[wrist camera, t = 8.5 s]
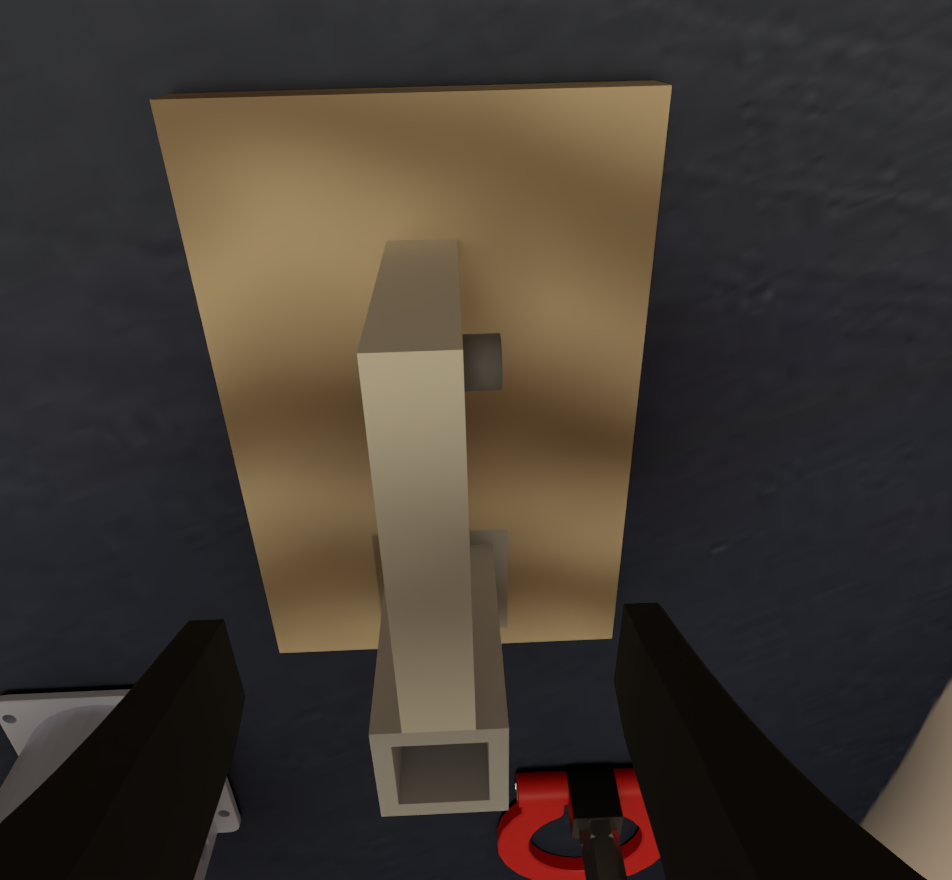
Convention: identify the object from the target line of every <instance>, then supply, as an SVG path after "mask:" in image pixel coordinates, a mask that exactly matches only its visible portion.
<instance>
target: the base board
mask: <svg viewBox="0 0 952 880" xmlns="http://www.w3.org/2000/svg"><path fill="white" fill-rule="evenodd" d="M671 90H672V85H669V84H666V83H663V82H659V81H656V80H650V81H613V82H577V83H540V84H504V85H468V86H431V87H395V88H359V89H322V90H286V91H250V92H213V93H177V94H168V95H165V96H161V97H158V98H154V99H151V100H150V104H151V108H152V112H153V116H154V121H155V125H156V129H157V133H158V138H159V142H160V146H161V150H162V155H163V159H164V163H165V167H166V172H167V176H168V180H169V184H170V189H171V193H172V197H173V201H174V206H175V210H176V214H177V218H178V223H179V227H180V231H181V235H182V240H183V244H184V248H185V252H186V257H187V261H188V265H189V269H190V274H191V278H192V282H193V286H194V291H195V295H196V299H197V303H198V308H199V312H200V316H201V320H202V325H203V329H204V333H205V337H206V342H207V346H208V350H209V354H210V359H211V363H212V367H213V371H214V376H215V380H216V384H217V388H218V393H219V397H220V401H221V405H222V410H223V414H224V418H225V422H226V427H227V431H228V435H229V439H230V444H231V448H232V452H233V456H234V461H235V465H236V469H237V473H238V478H239V482H240V486H241V490H242V495H243V499H244V503H245V507H246V512H247V516H248V520H249V524H250V529H251V533H252V537H253V541H254V546H255V550H256V554H257V558H258V563H259V567H260V571H261V575H262V580H263V584H264V588H265V592H266V597H267V601H268V605H269V609H270V614H271V618H272V622H273V626H274V631H275V635H276V639H277V643H278V648H279V652H280V653H293V652H316V651H339V650H362V649H378V643H379V633H380V624H381V615H382V605H383V596H384V579H383V571H382V562H381V554H380V545H379V537H378V529H377V520H376V512H375V503H374V495H373V486H372V478H371V469H370V461H369V453H368V444H367V436H366V427H365V419H364V410H363V402H362V393H361V385H360V377H359V368H358V360H357V351H358V347H359V343H360V339H361V336H362V332H363V328H364V324H365V320H366V317H367V313H368V309H369V305H370V301H371V298H372V294H373V290H374V286H375V282H376V279H377V275H378V271H379V267H380V263H381V260H382V256H383V252H384V248H385V244H386V241H401V240H432V239H457V246H458V265H459V283H460V302H461V321H462V334H484V333H500V336H501V346H502V373H503V378H502V390H494V391H467V392H465V422H466V451H467V481H468V510H469V540H470V545H478V544H492V545H493V556H494V568H495V579H496V590H497V601H498V612H499V624H500V635H501V643H521V642H544V641H566V640H589V639H612V633H613V623H614V614H615V605H616V596H617V587H618V577H619V568H620V559H621V550H622V541H623V531H624V522H625V513H626V504H627V495H628V485H629V476H630V467H631V458H632V449H633V439H634V430H635V421H636V412H637V403H638V393H639V384H640V375H641V366H642V357H643V347H644V338H645V329H646V320H647V311H648V301H649V292H650V283H651V274H652V265H653V255H654V246H655V237H656V228H657V218H658V209H659V200H660V191H661V182H662V172H663V163H664V154H665V145H666V136H667V126H668V117H669V108H670V99H671Z"/></svg>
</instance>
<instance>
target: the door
mask: <svg viewBox="0 0 952 880" xmlns="http://www.w3.org/2000/svg"><path fill="white" fill-rule="evenodd" d="M357 360H358V368H359V377H360V385H361V393H362V402H363V410H364V419H365V427H366V436H367V444H368V453H369V461H370V469H371V478H372V486H373V495H374V503H375V512H376V520H377V529H378V537H379V545H380V554H381V562H382V571H383V579H384V596H383V605H382V615H381V624H380V633H379V643H378V652H377V661H376V671H375V680H374V689H373V699H372V708H371V718H370V727H369V740H370V747H371V753H372V759H373V766H374V772H375V779H376V785H377V791H378V798H379V804H380V811H381V817H383V816H403V815H424V814H444V813H465V812H485V811H506V810H509V724H508V713H507V702H506V691H505V680H504V668H503V657H502V646H501V635H500V624H499V612H498V601H497V590H496V579H495V568H494V556H493V545H492V544H478V545H470V540H469V510H468V481H467V451H466V422H465V392H467V391H494V390H502V378H503V373H502V346H501V336H500V333H484V334H462V321H461V302H460V283H459V265H458V246H457V239H432V240H401V241H386V244H385V248H384V252H383V256H382V260H381V263H380V267H379V271H378V275H377V279H376V282H375V286H374V290H373V294H372V298H371V301H370V305H369V309H368V313H367V317H366V320H365V324H364V328H363V332H362V336H361V339H360V343H359V347H358V351H357Z"/></svg>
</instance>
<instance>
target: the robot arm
mask: <svg viewBox="0 0 952 880" xmlns="http://www.w3.org/2000/svg"><path fill="white" fill-rule="evenodd" d="M614 683H615V688H616V694H617V700H618V706H619V711H620V717H621V722H622V727H623V732H624V737H625V741H626V744H627V748H628V751H629V754H630V758H631V761H632V765H633V768H634V771H635V775H636V778H637V781H638V785H639V788H640V791H641V795H642V798H643V801H644V805H645V808H646V811H647V815H648V818H649V821H650V825H651V828H652V831H653V834H654V838H655V841H656V844H657V848H658V851H659V854H660V858H661V861H662V865H663V869H664V873H665V876H666V880H927V879H925V878H924V877H922V876H921V875H920V874H919V873H917V872H916V871H914V870H913V869H912V868H911V867H909V866H908V865H907V864H906V863H905V862H903V861H902V860H901V859H900V858H899V857H897V856H896V855H895V854H894V853H892V852H891V851H890V850H889V849H888V848H886V847H885V846H884V845H883V844H881V843H880V842H879V841H878V840H876V839H875V838H874V837H873V836H872V835H871V834H869V833H868V832H867V831H866V830H864V829H863V828H862V827H861V826H860V825H858V824H857V823H856V822H855V821H854V820H852V819H851V818H850V817H849V816H848V815H847V814H846V813H845V812H844V811H842V810H841V809H840V808H839V807H838V806H837V805H836V804H835V803H834V802H832V801H831V800H830V799H829V798H828V797H827V796H826V795H825V794H824V793H822V792H821V791H820V790H819V789H818V788H817V787H816V786H815V785H814V784H813V783H812V782H811V781H810V780H809V779H808V778H807V777H806V776H805V775H804V774H803V773H801V772H800V771H799V770H798V769H797V768H796V767H795V766H794V765H793V764H792V763H791V762H790V761H789V760H788V759H787V758H786V757H785V756H784V755H783V753H782V752H781V751H780V750H779V749H778V748H777V747H776V746H775V745H774V744H773V743H772V742H771V741H770V740H769V739H768V738H767V737H766V736H765V734H764V733H763V732H762V731H761V730H760V729H759V728H758V727H757V726H756V725H755V724H754V723H753V721H752V720H751V719H750V718H749V717H748V716H747V715H746V713H745V712H744V711H743V710H742V709H741V708H740V707H739V706H738V704H737V703H736V702H735V701H734V700H733V698H732V697H731V696H730V695H729V694H728V692H727V691H726V690H725V689H724V688H723V686H722V685H721V684H720V683H719V682H718V680H717V679H716V678H715V677H714V676H713V674H712V673H711V672H710V671H709V669H708V668H707V667H706V666H705V664H704V663H703V662H702V661H701V659H700V658H699V657H698V655H697V654H696V653H695V651H694V650H693V649H692V648H691V646H690V645H689V644H688V642H687V641H686V640H685V638H684V637H683V636H682V634H681V633H680V631H679V630H678V629H677V627H676V626H675V625H674V623H673V622H672V620H671V619H670V618H669V616H668V615H667V613H666V612H665V610H664V609H663V608H662V607H661V606H660V605H659V604H658V603H638V604H624V606H623V614H622V622H621V630H620V638H619V647H618V655H617V663H616V671H615V679H614ZM244 699H245V694H244V690H243V687H242V683H241V680H240V676H239V672H238V669H237V665H236V662H235V658H234V655H233V651H232V647H231V644H230V640H229V637H228V633H227V629H226V626H225V622H224V619H220V620H194V621H189V622H188V623H187V624H186V625H185V626H184V627H183V628H182V629H181V630H180V632H179V633H178V634H177V635H176V636H175V638H174V639H173V640H172V641H171V642H170V643H169V645H168V646H167V647H166V648H165V649H164V651H163V652H162V653H161V654H160V655H159V657H158V658H157V659H156V660H155V661H154V663H153V664H152V665H151V666H150V667H149V669H148V670H147V671H146V672H145V673H144V674H143V676H142V677H141V678H140V679H139V680H138V681H137V683H136V684H135V685H134V686H133V687H132V688H131V689H123V690H101V691H79V692H57V693H34V694H12V695H2V696H0V724H1V726H2V728H3V729H4V731H5V733H6V735H7V737H8V738H9V740H10V742H11V744H12V745H13V747H14V749H15V751H16V752H17V754H18V756H19V757H18V758H17V760H16V762H15V763H14V765H13V767H12V769H11V770H10V772H9V774H8V776H7V777H6V779H5V781H4V783H3V784H2V786H1V788H0V880H204V879H205V875H206V872H207V868H208V864H209V861H210V857H211V854H212V850H213V846H214V843H215V839H216V836H217V833H222V832H234V831H236V830H238V828H239V827H240V823H241V817H240V814H239V811H238V808H237V805H236V802H235V799H234V796H233V793H232V790H231V787H230V784H229V781H228V778H227V774H228V771H229V768H230V765H231V762H232V758H233V755H234V751H235V746H236V742H237V737H238V732H239V727H240V721H241V716H242V710H243V705H244Z"/></svg>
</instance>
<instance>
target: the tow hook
mask: <svg viewBox="0 0 952 880" xmlns="http://www.w3.org/2000/svg"><path fill="white" fill-rule="evenodd" d="M515 787H516V800H517V803H516V804H514V805H513V806H512V807H511V808H510V809H509V810H508V811H507V812H506V813H505V814H504V815H503V816H502V818H501V820H500V823H499V825H498V828H497V841H498V851H499V855H500V857H501V858H502V860H503V861H504V863H505V864H506V865H507V866H508V867H510V868H511V869H512V870H514V871H515V872H517V873H518V874H520V875H522V876H525V877H527V878H530V879H532V880H627V876H629V875H632V874H635V873H637V872H638V871H640V870H642V869H644V868H646V867H648V866H650V865H651V864H653V863H654V862H655V861H656V860H657V859H659V858H660V854H659V851H658V848H657V844H656V841H655V838H654V834H653V831H652V828H651V825H650V821H649V818H648V815H647V811H646V808H645V805H644V801H643V798H642V795H641V791H640V788H639V785H638V781H637V778H636V775H635V771H634V768H613V769H612V767H610V766H600V767H577V768H567V769H566V770H565V771H545V772H522V773H517V774H516V779H515ZM565 805H567V806H568V813H569V820H570V827H571V834H572V838H580V843H581V846H582V849H581V850H582V857H563V856H557V855H553V854H549V853H546V852H544V851H542V850H539V849H538V848H537V847H535V846H534V845H533V844H532V843H531V841H530V839H531V836H532V834H533V833H534V832H535V831H536V830H537V829H538V828H539V827H541V826H543V825H544V824H546V823H548V822H549V821H552V820H555V819H557V818H560V817H561V816H562V815H563V814H564V806H565ZM623 816H624V817H626V818H628V819H630V820H632V821H634V822H635V823H636V824H637V825H638V826H639V830H638V831H637V833H636V835H635V836H634V837H633V838H632V839H631V840H630V841H629V842H628V843H626V844H624V845H622V846H620V844H619V843H620V840H619V836H620V835H621V830H622V824H623V819H624V818H623Z"/></svg>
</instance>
